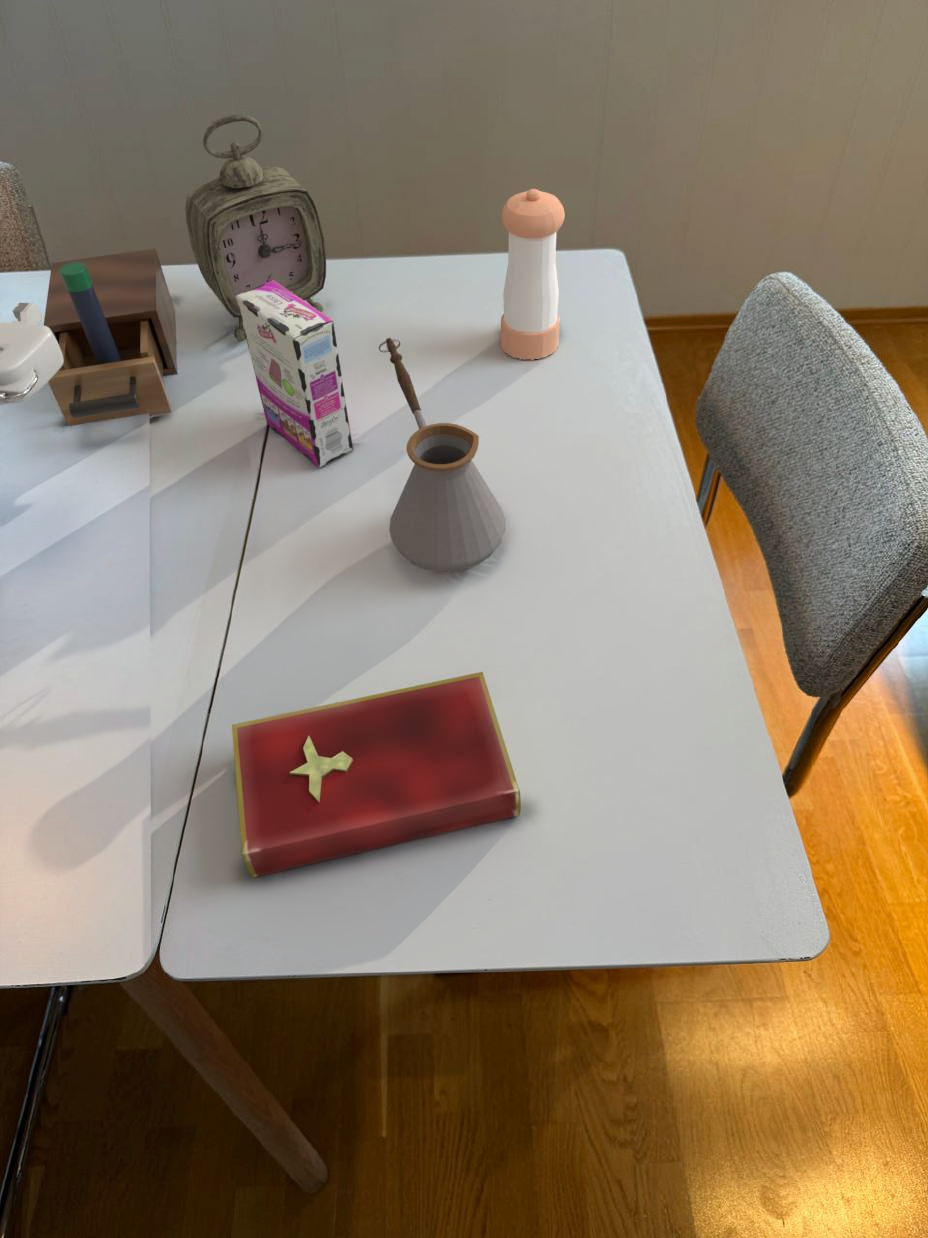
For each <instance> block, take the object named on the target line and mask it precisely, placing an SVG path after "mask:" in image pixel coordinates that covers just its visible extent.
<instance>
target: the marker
mask: <svg viewBox="0 0 928 1238" xmlns="http://www.w3.org/2000/svg"><path fill="white" fill-rule="evenodd" d="M60 274H61V276H62V279H63V281H64V284H65V286H66V288H67V290H68V292H69V295H70V297H71V299H72V302H73V304H74V307H75V309H76V312H77V314H78V317H79V319H80V322H81V324H82V327H83V329H84V331H85V334H86V336H87V339H88V341H89V344H90V346H91V349H92V351H93V354H94V356H95V359H96V361H97V364H98V365H100V364H106V363H113V362H119V361H121V358H120V356H119V353H118V350H117V348H116V345H115V343H114V340H113V337H112V335H111V332H110V329H109V327H108V324H107V322H106V319H105V316H104V314H103V311H102V308H101V306H100V303H99V301H98V298H97V295H96V293H95V290H94V287H93V285H92V281H91V278H90V276H89V273H88V270H87V268H86V265H85V264H83V263H81V262H73V263H69V264H66V265H64V266H63V267H62V268H61V269H60Z"/></svg>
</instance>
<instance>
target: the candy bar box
mask: <svg viewBox="0 0 928 1238" xmlns="http://www.w3.org/2000/svg"><path fill="white" fill-rule="evenodd" d="M236 299H237V302H238V306H239V310H240V314H241V318H242V322H243V329H244V331H245V335H246V339H245V340H246V343H247V347H248V351H249V355H250V360H251V363H252V367H253V372H254V376H255V380H256V385H257V389H258V393H259V397H260V401H261V405H262V409H263V413H264V417H265V422H266V424H267V425H268V426H269V427H270V428H271V429H272V430H273V431H274V432H276V433H277V435H278V434H279V436H281V437H282V438H283V439H285V441H287V442H289V444H291V445H292V447H294V448H295V449H297V450H298V451H299V452H300V453H301V454H302V455H304V456H305V457H306V458H307V459H308V460H309V461H311V462H312V463H313V464H314V465H316V466H317V467H318V469H319V468H320V469H321V468H323V467H325V466H327V465H329V464H331V463H332V462H335V461H336V460H338V459H339V460H340V458H342V457H344V456H346V455H348V454H349V453H352V452H353V451H354V445H353V440H352V439H353V438H352V434H351V433H352V432H351V428H350V427H351V426H350V420H349V414H348V408H347V402H346V396H345V390H344V383H343V374H342V369H341V363H340V362H341V361H340V355H339V350H338V341H337V337H336V331H335V324H334V320H333V319H332V318H331V317H329V316H328V315H326V314H324V313H323V312H320V311H318V310H317V309H316V308H314V307H312V306H311V305H310V304H309V303H308V302H307V301H306V300H305V301H304V300H302V299H301V298H299V297H298V296H296V295H295V294H293V293H292V292H290V291H289V290H287V289H286V288H284V287H283V286H281V285H280V284H278V283H277V282H276V281H274V280H272V281H269V282H267V283H264V284H262V285H260V286H257V287H255V288H253V289H251V290H249V291H246V292H243V293H241V294H239V295H237V296H236Z"/></svg>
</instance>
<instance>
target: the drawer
mask: <svg viewBox="0 0 928 1238" xmlns="http://www.w3.org/2000/svg"><path fill="white" fill-rule="evenodd" d="M108 327H109V329H110V332H111V335H112V337H113V340H114V343H115V345H116V348H117V350H118V353H119V356H120V358H121V361H119V362H113V363H106V364H100V365H98V364H97V361H96V359H95V356H94V354H93V351H92V349H91V346H90V344H89V341H88V339H87V336H86V334H85V331H84V329H83V328H80V329H74V330H67V331H61V332H60V338H59V346H60V349H61V351H62V355H63V359H64V362H63V365H62V367H61V368H60V369H59V370H58V371H57V373H56V374H55V375H54V376H53V377H52V378H51V379H50V380H49V381H48V382H47V384H48V385H49V387H50V390H51V393H52V394H53V396H54V398H55V400H56V403H57V405H58V407H59V409H60V411H61V414H62V416H63V417H64V418H63V419H64V420H65V422H66V424H67V426H68V427H72V426H78V425H84V424H89V423H97V422H103V421H109V420H115V419H120V418H126V417H127V418H128V417H133V416H140V415H144V414H145V415H146V414H148V416H149V417H152V416H159V415H165V414H171V413H172V403H171V402H170V397H169V395H168V393H167V390H166V387H165V384H164V376H163V352H162V349H161V346H160V343H159V340H158V337H157V334H156V331H155V329H154V326H153V323H152V320H151V318H147V319H140V320H133V321H127V322H120V323H113V324H108Z"/></svg>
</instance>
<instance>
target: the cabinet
mask: <svg viewBox="0 0 928 1238" xmlns="http://www.w3.org/2000/svg"><path fill="white" fill-rule="evenodd" d="M73 262H81V263H83V264H85V265H86V268H87V270H88V273H89V276H90V278H91V281H92V285H93V287H94V290H95V293H96V295H97V298H98V301H99V303H100V306H101V308H102V311H103V314H104V316H105V319H106V322H107V324H113V323H120V322H127V321H133V320H140V319H147V318H151V320H152V323H153V326H154V329H155V331H156V334H157V337H158V340H159V343H160V346H161V349H162V352H163V377H166V376H167V377H168V376H172V375H173V376H174V375H178V357H177V356H178V353H177V328H176V325H177V324H176V309H175V307H174V303H173V300H172V297H171V293H170V291H169V286H168V284H167V280H166V278H165V274H164V271H163V268H162V264H161V262H160V258H159V255H158V251H157V249H156V248H148V249H140V250H134V251H128V252H127V251H126V252H120V253H114V254H113V253H112V254H107V255H106V254H105V255H99V256H93V257H85V258H78V259H72V260H63V261H57V262H51V266H50V272H49V273H50V275H49V280H48V281H49V283H48V288H47V297H46V304H45V312H44V320H43V326H47V327H49V328H50V329H51V331H52V333H53V334H54V336H55V338H56V340H57V342H58V344H59V338H60V332H61V331H67V330H74V329H80V328H83V327H82V324H81V322H80V319H79V317H78V314H77V312H76V309H75V307H74V304H73V302H72V299H71V297H70V295H69V292H68V290H67V288H66V286H65V284H64V281H63V279H62V276H61V274H60V269H61V268H62V267H63V266H64V265H66V264H69V263H73Z"/></svg>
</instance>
